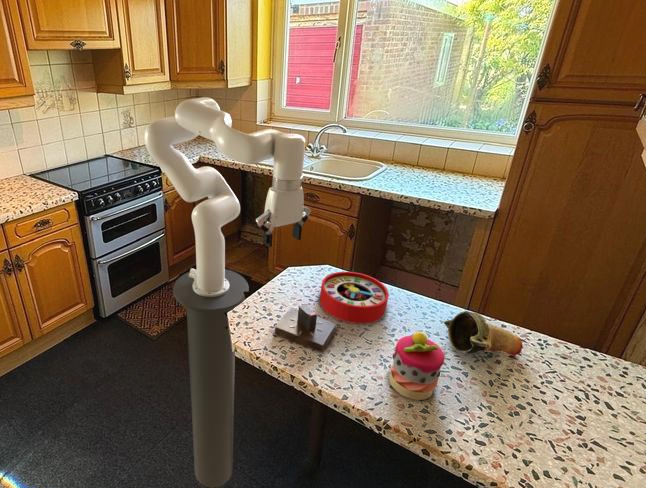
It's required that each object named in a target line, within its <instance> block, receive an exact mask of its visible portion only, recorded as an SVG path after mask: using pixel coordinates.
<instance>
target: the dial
mask: <svg viewBox="0 0 646 488" xmlns="http://www.w3.org/2000/svg"><path fill="white" fill-rule="evenodd" d="M317 317H318V314H317V313H316V312H315V311H313V310H312V309H311V308H310V307H309V306H307V305H306V304H301V305H299V306H298V319H297V321H298V322H299V323H300V324H301V325H303V326H304V327H305V328H306V329H307V330H308V331H312V330H314V329H315V328H316V320H317Z"/></svg>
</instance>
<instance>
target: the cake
mask: <svg viewBox="0 0 646 488" xmlns="http://www.w3.org/2000/svg"><path fill="white" fill-rule="evenodd" d="M392 360H393V361H392V362H393V363H392V364H393V365H392V366H391V367H390V368H389V370H390V372H389V375H388V376H389V384H390V385H391V387H392V388H393V389H394V390H395V391H396V392H397V393H399V394H400V395H401V396H403V397H405V398H408V399H412V400H415V401H423V400H426V399H429V398H430V397H432V395H433V392H434V389H436V388H437V386H438V383H439V378H440V376H441V368H442V367H443V365H444V364H445V360H446V356H445V353H444V351H443V349H442V347H440V346H439V345H438V344H437V343H435V342H434V341H433V340H431V339H428V337H427V335H426V333H424V332H423V331H416V332H415V333H413V335H405V336H403V337H400V338H399V339H398V340H397V342H396V346H395V349H394V352H393V354H392Z"/></svg>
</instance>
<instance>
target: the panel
mask: <svg viewBox="0 0 646 488" xmlns="http://www.w3.org/2000/svg"><path fill="white" fill-rule="evenodd" d="M298 310H299V308H298V309H297V308H295V307H290V308H289V310H288V311H287V312H285V315H284V316H283V317H282V318H281V319H280V321H279V322H278V323H277V324H276V325H275V327H274V335H277V336H280V337H281V338H284V339H286V340H289V341H292V342H295V343H297V344H299V345H302V346H304V347H307V348H309V349H312V350H314V351H317V352H319V353H323V351H324V350H325V348H326V346H327V345H328V343H329V342H330V340H331V338H332V337H333V335H334V333H335V332H336V330H337V325H338V324H337V322H334V321H332V320H328V319H325V318H322V317H320V316H317V320H316V328H315V329H314V330H312V331H308V330H307V329H306V328H305V327H304V326H303V325H301V324H300V323H299V322H298V321H297V319H298Z"/></svg>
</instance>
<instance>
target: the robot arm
mask: <svg viewBox="0 0 646 488" xmlns="http://www.w3.org/2000/svg"><path fill="white" fill-rule="evenodd" d="M232 125H233V123H232V118H231V115H230V114H229V113H228V112H226V111H223V110H221V109H220V106H219V104H218V103H217V101H216V100H215V99H213V98H211V97H205V96H203V97H197V98H189V99H186V100H183V101H181V102H180V103H179V104H178V105H177V106H176V108H175V111H174V115H172V116H166V117H162V118H157V119H155V120H153V121H151V122H149V123H148V125H147V126H146V128H145V130H144V137H143V138H144V144H145V148H146V150H147V152H148V154H149V155H150V157H151V159H152V160H153V161H154V162H155V163H156V164H157V165H158V167H159V168H160V169H161V170H162V171H163V173H164V175H166V177H167V179H168V180H169V181H170V183H171V185H172V186H173V187H174V189H175V190H176V192H177V193H178V194H179V196H180V198H181V199H182V200H183V201H185V202H186V203H194V202H197V201H200V200H202V199H205V198H206V197H207V198H208V199H205V200H203V201H202V202H200V203H198V204H197V205H196V206H195V207H194V208H193V210H192V212H191V223H192V227H193V230H194V238H195V259H196V260H195V262H196V263H195V265H196V269H195V268H192V267H191V268H190V270H189V272H190V274H189V277H191V278H194V282H193V290H194V292H196V293H197V294H199V295H201V296H204V297H217V296H220V295H223V294H225V293H226V292H227V291H228V290H229V282H228V280H227V279H225V269H226V239H225V236H224V234H223V232H222V229H221V228H222V227H224V226H225V225H227V224H228V223H230V222H232V221H234V220H236V219H237V218H238V216H239V215H240V214H241V204H240V201H239V199H238V198H237V196H236V195H235V193H234V191H233V190H232V189H231V187H230V185H229V184H228V183H227V181H226V180H225V178H224V177H223V176H222V174H221V173H220V172H219V171H218V170H217V169H215V167H212V166H205V165H204V166H200V167H198V168H195V167H194V166H193V165H192V163H191V162H190V160H189V159H188V157H187V156H185V155H186V154H184V153H182V152H181V151H180V150H178V149H176V148H175V147H173V146H174V145H178V144H182V143H185V142H190V141H192V140H194V139H195V138H197V137H198V136H201V137H202V138H205V139H207V140H209V141H211V142H214V144H215V147H217V149H218V151H220V152H221V154H223V155H224V156H226V157H227V158H230V159H233V160H234V161H237V162H239V163H242V164H245V165H256V164H258V163H262V162H264V161H266V160H270V159H273V166H272V179H271V180H272V183H271V187H269V188H268V191H267V195H266V200H265V204H264V211H263V213H262V214H261V215H260V216H258V217H257V218H255V222H256V224H257V226H258V228H259V229H260V230H261V231H262V232H263V236H262V237H263V238H262V242H263V244H264V245H265V246H267V247H268V248H272V247H273V235H274V234H273V233H272V232H273V231H274V229H275V228H277V227H283V226H287V225H291V224H292V234H291V235H292V237H293V238H294V239H296V240H298V241H301V239H302V234H303V233H302V232H303V227H304V226H305V223H306V222H307V221H308V220H309V216H310V214H311V213H312V209H311V208H309V207H307V206H304V204H305V203H304V189H303V187H302V182H305V176H304V175H303V171H304V163H305V162H304V161H305V149H306V139H305V137H304V136H303V135H301V134H299V133H298V134H296V133H286V132H282V131H280V130H277V129H274V128H265V129H262V130H258V131H254V132H251V133H245V132H243V131H240V130H237V129H235V128H233V127H232ZM264 222H265V223H264Z"/></svg>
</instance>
